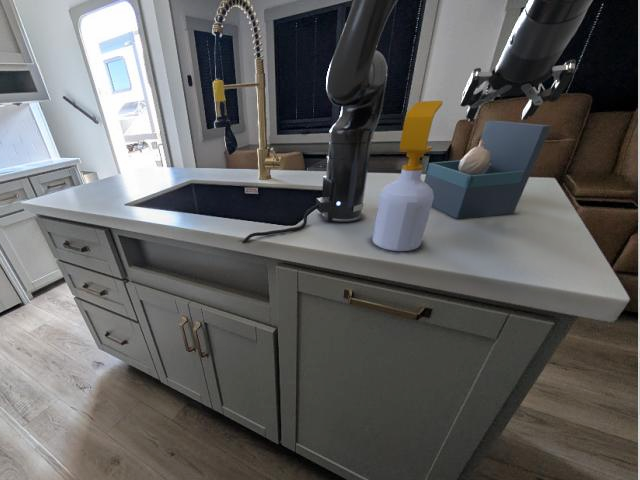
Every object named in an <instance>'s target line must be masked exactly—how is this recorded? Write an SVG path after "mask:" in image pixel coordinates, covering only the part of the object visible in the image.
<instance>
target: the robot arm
mask: <svg viewBox="0 0 640 480" xmlns="http://www.w3.org/2000/svg"><path fill="white" fill-rule="evenodd" d="M398 1H399V0H353V1H352V4H351V7H350V11H349V13H348V16H347V19H346V22H345V24H344V27H343V30H342V33H341V35H340V38H339V40H338V43H337V45H336V48H335V50H334V53H333V56H332V59H331V62H330V64H329V68H328V71H327V75H326V84H325V85H326V86H325V87H326V88H325V90H326V94H327V97H328V100H329V101H330V102H331V103H332V105H334V106H336V107H341V110H340V115H339V117H338V119H337V120H336V122H335V123H334V124H333V125H332V126H331V128H330V130H329V135H328V149H327V160H326V174H325V175H323V177H322V188H321V190H322V191H321V197H316V200H315V205H314V206H311V207H310V208H309V209H307V210H306V211H305V213H304V215H303V222H302V224H301V225H299V226H295V227H287V228H283V229H282V228H281V229H276V230H268V231H258V232H252V233H250V234H248V235H247V236H245V238H244V239H243V241H242V243H241V244H246V243H247V242H248V241H249V240H250V239H252V238H254V237H264V236H270V235H276V234H284V233H289V232H296V231H299V230H303V228H305V227H306V225H307V224H308V217H309V215H310V214H311V212H314V211H316V210H317V211H318V212H319V213H320V215H321V217H322V218H323V219H324V220H325V221H326V222H328V223H329V222H334V223H352V222H356V221H358V220H360V219H361V218H362V215H363V210H364V199H365V191H366V184H367V179H368V177H367V176H368V171H369V165H370V157H371V151H372V144H373V139H374V133H375V130H376V128H377V126H378V124H379V121H380V118H381V114H382V109H383V103H384V97H385V91H386V88H387V87H386V86H387V80H388V65H387V61H386V58H385V56H384V55H383V54H382V53H381V52H380V51H379V50H377V48H378V45H379V42H380V39H381V36H382V33H383V32H384V28H385V26H386V23H387V21H388V19H389V17H390V15H391V13H392V11H393V9H394V8H395V6H396V4H397V3H398ZM593 1H594V0H527V1H526V4H525V6H524V8H523V9H522V11H521V13H520V14H519V16H518V18H517V20H516V22H515V24H514V26H513V29H512V30H511V33H510V35H509V38H508V40H507V42H506V45H505V47H504V49H503V51H502V53H501V56H500V58H499V60H498V62H497V64H496V66H495V67H494V68H493V69H492V70H490V71H482V68H481V67H476V68H475V69H473V70H472V72H471V74H470V77H469V78H468V81H467V83H466V86H465V88H464V89H463V91H462V94H461V96H462V97H461V102H460V107H467V106H468V108H467V110H466V115H465V118H466V120H468V122H469V123H470V122H471V123H472V122H474V120H475V118H476V115H477V113H478V111H479V109H480V106H482V105H483V104H484V103H489V102H491V101H492V100H494V99H496V98H497V97H499V98H501V97H508V96H512V97H513V96H514V97H518V96H519V97H520V96H522V94H524V95H525V96H526V98H527V99H528V102H527V103H526V105H525V107H524V108H523V110H522V114H521V120H523V121H524V120H525V121H526V120H528V119H529V117H533V116H534V114H535V113H536V111H537V110H538V109H539V108H540V106H541V105H543V103H544V102H545V103H546V102H550V103H554V102H557V101H558V100H559V99H560V98H561V95H562V94H563V93H564V91H565V89H566V88H567V86H568V84H569V83H570V81H571V80H572V78H573V77H574V75H575V69H576V59H573V58H571V59H569V60H567V61H565V63H564V64H562V65H561V64H560V65H555V64H556V63H557V61H558V60H559V59H560V57H561V55H562V54H563V52H564V50H566V48H567V46H568V44H569V43H570V41H572V40H571V39H572V38H574V36H575V35H576V34H577V32H578V29H579V27H580V26H581V24H582V22H583V20H584V19H585V17H586V13H588V9H589V8H590V6H591V4H592V3H593ZM551 77H553V83H552V85H551V87H549V88H547V89H545V87H544V85H543V83H544V82H545V81H547V80H548V79H550V78H551ZM485 82H486V83H485ZM484 83H485V84H484ZM483 84H484V85H483ZM481 85H483V86H482V87H481V88H480V86H481ZM476 89H478V91H476ZM475 91H476V92H475Z"/></svg>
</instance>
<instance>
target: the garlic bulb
mask: <svg viewBox="0 0 640 480" xmlns="http://www.w3.org/2000/svg"><path fill="white" fill-rule="evenodd" d="M484 144H485V143H484V141H483V140H482V139H481V138H480V140H479V144H478V146H475V147H473V148H471V149H470V150H469V151H468V152H467V153H465V155H464V156H463V157H462V158H461V159H460V160H461V161H460V164H459V171H460V172H463V173H466V174H469V175H480V174H485V173H486V172H487V170H488V169H489V166H490V165H491V162H492V160H490V157H491V154H490V152H489V151H488V150H486V149H484Z"/></svg>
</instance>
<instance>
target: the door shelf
mask: <svg viewBox="0 0 640 480" xmlns="http://www.w3.org/2000/svg"><path fill="white" fill-rule="evenodd" d="M551 128H552V125H550V124H549V125H548V124H540V123H539V124H537V123H528V122H527V123H525V122H516V121H515V122H514V121H505V120H486V121H485V125H484V128H483V131H482V134H481V137H480V140H481V139H482V140H483V141H484V143H485V144H484V149H486V150H488V151H489V152H490V154H491V157H490V160H492V162H491V165H490V166H489V169H488V170H487V172H486V173H485V174H480V175H469V174H466V173H463V172H460V171H459V164H460V161H461V159H458V160H447V161H437V162H436V161H435V162H428V165H427V168H426V171H425V177H424V180H423V182H425V183H426V184H428V185H429V186H430V188H431V189H432V190H433V195H434V199H433V202H432V206H431V208H434V209H436V210H438V211H440V212H442V213H444V214H446V215H448V216H450V217H452V218H454V219H456V220H462V219H472V218H481V217H492V216H503V215H514V213H515V212H516V209H517V207H518V204H519V202H520V200H521V197H522V195H523V192H524V191H525V188H526V186H527V183H528V181H529V179H530V176H531V174H532V172H533V169H534V167H535V165H536V162H537V160H538V158H539V156H540V153H541V151H542V148H543V147H544V143H545V141H546V140H547V137H548V134H549V132H550V130H551Z"/></svg>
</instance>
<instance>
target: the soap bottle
mask: <svg viewBox="0 0 640 480" xmlns="http://www.w3.org/2000/svg"><path fill="white" fill-rule="evenodd" d="M442 106H443V100H424V101H423V100H422V101H417V102H415V103H414V104H413V105H412V106H411V107H410V109H408V110H407V113H406V114H405V118H404V122H403V127H402V132H401V137H400V143H399V149H398V150H399V152H401V153H406V157H407V158H408V162H407V164H402V167H401V172H400V176H399V178H398V179H397V180H394V181H392V182H390V183H388V184H387V185H386V186H385V187H383V188H382V190H381V192H380V195H379V200H378V207H377V212H376V218H375V223H374V229H373V234H372V242H373V244H374V245H376V246H377V247H379V248H381V249H383V250H387V251H393V252H408V251H414V250H416V249H418V248H419V247H420V246H421V245H422V242H423V239H424V235H425V232H426V227H427V224H428V220H429V217H430V213H431V210H432V202H433V199H434V195H433V190H432V189H431V188H430V186H429V185H428V184H426V183H425V182H424V180H422V178H421V177H422V173H423V168H424V165H423V164H420V159H421V158H423V157H425V154H426V153H428V152H430V151H432V150H433V146H430V145H427V144H428V141H429V135H430V132H431V128H432V123H433V120H434V117H435V115H436V113H437V112H438V111H439V109H440V108H441V107H442Z"/></svg>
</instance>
